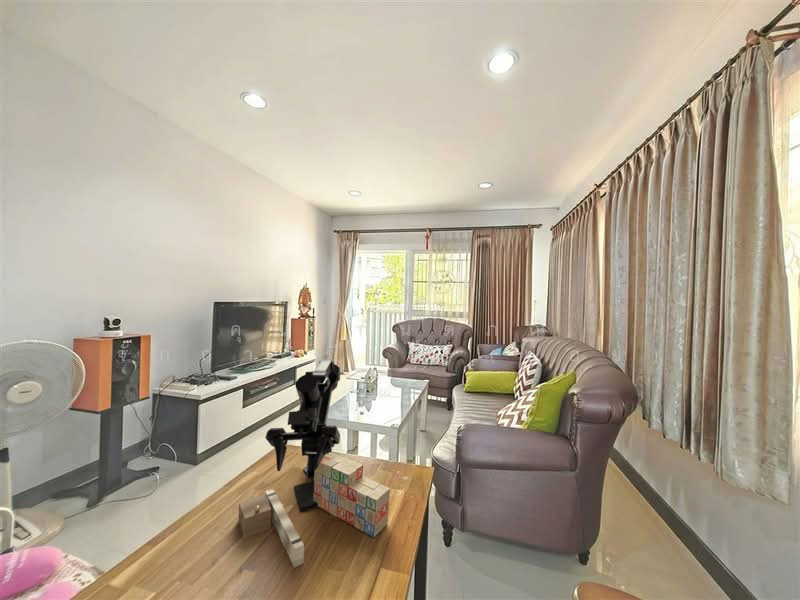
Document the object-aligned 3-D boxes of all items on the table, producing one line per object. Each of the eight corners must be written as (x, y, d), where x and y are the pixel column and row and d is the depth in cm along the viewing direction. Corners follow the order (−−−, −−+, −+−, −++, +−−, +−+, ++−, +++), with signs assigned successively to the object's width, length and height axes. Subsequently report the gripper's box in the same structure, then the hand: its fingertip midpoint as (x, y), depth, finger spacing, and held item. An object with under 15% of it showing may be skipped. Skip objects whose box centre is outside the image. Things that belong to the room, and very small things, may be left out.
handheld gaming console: (286, 486, 93) (308, 455, 95) (305, 492, 97) (325, 462, 99) (300, 514, 83) (323, 479, 86) (319, 519, 87) (341, 486, 90)
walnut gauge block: (238, 521, 80) (239, 497, 80) (263, 512, 84) (264, 489, 84) (244, 539, 75) (244, 513, 75) (270, 528, 78) (271, 504, 78)
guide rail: (264, 505, 86) (265, 490, 86) (272, 502, 88) (272, 487, 88) (294, 568, 67) (294, 548, 67) (303, 563, 69) (304, 544, 69)
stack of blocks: (388, 523, 81) (391, 476, 81) (373, 538, 76) (376, 488, 76) (328, 492, 93) (330, 450, 93) (312, 503, 87) (314, 459, 87)
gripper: (267, 398, 85) (247, 458, 74) (335, 395, 84) (326, 455, 73) (280, 418, 93) (264, 476, 81) (343, 415, 92) (336, 473, 80)
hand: (296, 470), depth 79 cm, fingers open, 9 cm apart
